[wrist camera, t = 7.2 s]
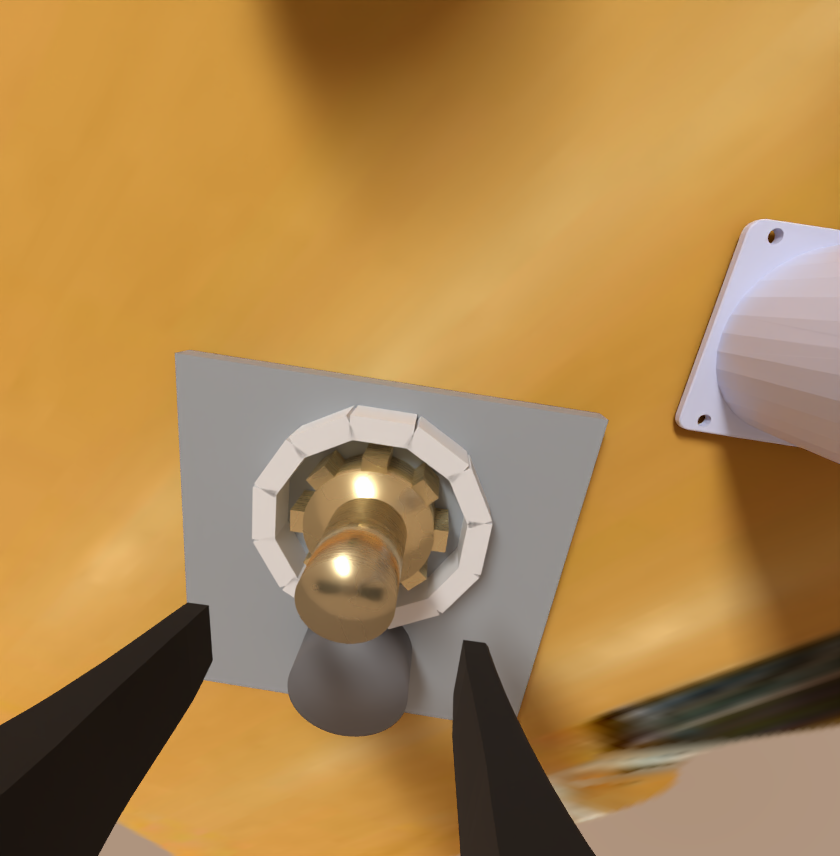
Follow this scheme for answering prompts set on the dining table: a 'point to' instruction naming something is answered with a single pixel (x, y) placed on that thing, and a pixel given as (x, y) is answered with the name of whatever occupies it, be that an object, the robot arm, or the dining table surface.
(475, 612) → the carrier plate
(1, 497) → the dining table surface
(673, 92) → the dining table surface
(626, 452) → the dining table surface
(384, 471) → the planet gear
